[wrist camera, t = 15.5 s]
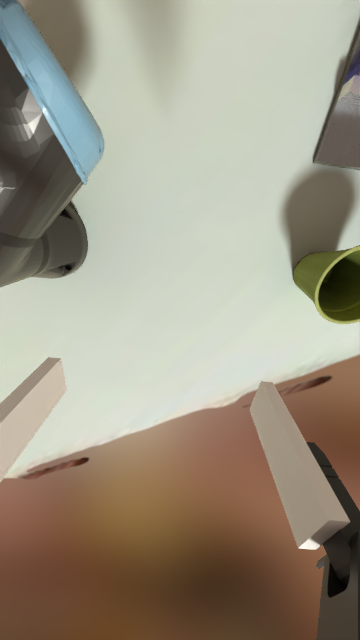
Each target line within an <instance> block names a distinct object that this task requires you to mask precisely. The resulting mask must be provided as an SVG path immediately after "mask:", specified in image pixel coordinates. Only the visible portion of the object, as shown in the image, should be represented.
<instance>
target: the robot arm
mask: <svg viewBox="0 0 360 640" xmlns="http://www.w3.org/2000/svg"><path fill="white" fill-rule="evenodd" d="M103 152H104V139H103V135H102V132H101V130H100V128H99V126H98V124H97V122H96V121H95V119H94V117H93V116H92V114H91V112H90V111H89V109H88V107H87V106H86V104H85V103H84V101H83V99H82V98H81V96H80V95H79V93H78V91H77V90H76V88H75V87H74V85H73V84H72V82H71V80H70V79H69V77H68V76H67V74H66V73H65V71H64V69H63V68H62V66H61V65H60V63H59V62H58V60H57V59H56V57H55V56H54V54H53V52H52V51H51V49H50V48H49V46H48V45H47V43H46V42H45V40H44V39H43V37H42V35H41V34H40V32H39V31H38V29H37V28H36V26H35V25H34V23H33V22H32V20H31V19H30V17H29V16H28V14H27V13H26V11H25V10H24V8H23V7H22V5H21V4H20V3H19V2H18V0H0V287H2V286H5V285H8V284H11V283H14V282H17V281H20V280H23V279H26V278H29V277H39V278H60V277H64V276H66V275H69V274H71V273H73V272H75V271H76V270H77V269H79V268H80V266H81V265H82V264H83V262H84V260H85V258H86V255H87V249H88V240H87V234H86V230H85V227H84V225H83V223H82V220H81V219H80V217H79V215H78V214H77V212H76V211H75V210H74V208H73V207H72V206H71V205H70V204H69V202H70V200H71V199H72V198H73V197H74V195H75V194H76V193H77V192H78V190H79V189H80V188H81V186H82V185H83V184H84V185H86V184H87V182H88V181H87V178H88V177H89V175H90V174H91V172H92V171H93V169H94V168H95V166H96V165H97V163H98V162H99V161H100V159H101V157H102V155H103ZM66 390H67V388H66V383H65V378H64V373H63V368H62V362H61V359H59V358H50V357H49V358H47V359H46V360H45V361H44V362H43V363H42V364H41V365H40V366H39V367H38V368H37V369H36V370H35V371H34V372H33V373H32V374H31V375H30V376H29V377H28V378H27V379H26V380H25V381H24V382H23V383H21V384H20V385H19V386H18V387H17V388H16V389H15V390H14V391H13V392H12V393H11V394H10V395H9V396H8V397H7V398H6V399H5V400H4V401H3V402H2V403H1V404H0V482H1V480H2V479H3V478H4V476H5V475H6V474H7V472H8V471H9V469H10V468H11V467H12V465H13V464H14V463H15V461H16V460H17V458H18V457H19V456H20V454H21V453H22V451H23V450H24V449H25V447H26V446H27V444H28V443H29V442H30V440H31V439H32V438H33V436H34V435H35V433H36V432H37V431H38V429H39V428H40V426H41V425H42V424H43V422H44V421H45V420H46V418H47V417H48V415H49V414H50V413H51V411H52V410H53V408H54V407H55V406H56V404H57V403H58V402H59V400H60V399H61V397H62V396H63V395H64V393H65V392H66ZM249 410H250V413H251V415H252V418H253V421H254V424H255V427H256V430H257V432H258V435H259V438H260V441H261V444H262V447H263V450H264V452H265V455H266V458H267V461H268V464H269V466H270V469H271V472H272V475H273V478H274V481H275V484H276V487H277V489H278V492H279V495H280V498H281V501H282V503H283V506H284V509H285V512H286V515H287V518H288V521H289V524H290V526H291V529H292V532H293V535H294V538H295V541H296V543H297V546H298V548H302V549H315V550H316V549H317V548H319V547H320V546H321V545H322V544H323V546H324V548H325V550H326V553H327V555H325V556H324V557H322V558H321V559H320V560H319V561H318V563H317V565H316V566H317V567H318V568H321V567H323V566H324V572H323V573H324V574H323V581H322V591H321V600H320V610H319V619H318V629H317V638H316V640H360V511H359V509H358V508H357V506H356V505H355V503H354V501H353V500H352V498H351V496H350V495H349V493H348V491H347V490H346V488H345V487H344V485H343V484H342V482H341V480H340V479H339V478H338V475H337V473H336V472H335V470H334V469H332V465H331V464H330V462H329V461H328V459H327V458H326V456H325V454H324V453H323V452H322V451H321V450H320V449H319V447H318V446H317V445H316V444H315V443H311V442H305V440H304V438H303V436H302V434H301V433H300V431H299V429H298V427H297V425H296V424H295V422H294V420H293V418H292V416H291V415H290V413H289V411H288V409H287V407H286V406H285V404H284V402H283V400H282V399H281V397H280V395H279V393H278V391H277V390H276V388H275V386H274V384H273V383H272V382H263V381H261V383H260V385H259V388H258V390H257V393H256V395H255V397H254V400H253V402H252V405H251V407H250V409H249Z"/></svg>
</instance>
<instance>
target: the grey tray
mask: <svg viewBox="0 0 360 640" xmlns="http://www.w3.org/2000/svg"><path fill="white" fill-rule="evenodd" d="M313 163H317V164H323V165H330V166H336V167H343V168H349V169H356V170H360V27H359V30H358V33H357V35H356V38H355V41H354V44H353V47H352V50H351V53H350V56H349V59H348V62H347V65H346V67H345V70H344V73H343V76H342V79H341V82H340V85H339V88H338V91H337V94H336V97H335V99H334V102H333V105H332V108H331V111H330V114H329V117H328V120H327V123H326V126H325V128H324V131H323V134H322V137H321V140H320V143H319V146H318V149H317V152H316V155H315V158H314V160H313Z"/></svg>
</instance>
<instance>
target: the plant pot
mask: <svg viewBox="0 0 360 640" xmlns="http://www.w3.org/2000/svg"><path fill="white" fill-rule="evenodd" d="M293 279H294V282H295V284H296V285H297V286H298V287H299V288H300V289H301V290H302V291H303V292H304V293H305V294H306V295H307V296H308V297H309V298H310V299H311V300H312V301H313V302H314V304H315V306H316V308H317V311H318V312H319V314H320V315H321V316H322V317H323V318H325V319H326V320H328V321H330V322H333V323H338V324H350V323H355V322H359V321H360V245H359V246H356V247H354V248H351V249H347V250H341V251H329V252H317V253H312V254H309V255H307V256H306V257H304V258H303V259H302V260H301V261H300V262H299V264H298V265H297V266H296V268H295V270H294V274H293Z"/></svg>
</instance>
